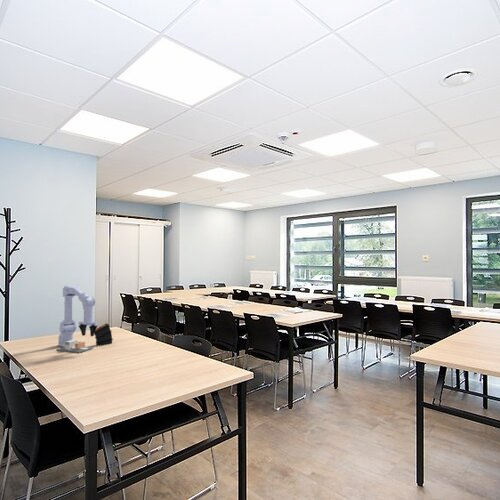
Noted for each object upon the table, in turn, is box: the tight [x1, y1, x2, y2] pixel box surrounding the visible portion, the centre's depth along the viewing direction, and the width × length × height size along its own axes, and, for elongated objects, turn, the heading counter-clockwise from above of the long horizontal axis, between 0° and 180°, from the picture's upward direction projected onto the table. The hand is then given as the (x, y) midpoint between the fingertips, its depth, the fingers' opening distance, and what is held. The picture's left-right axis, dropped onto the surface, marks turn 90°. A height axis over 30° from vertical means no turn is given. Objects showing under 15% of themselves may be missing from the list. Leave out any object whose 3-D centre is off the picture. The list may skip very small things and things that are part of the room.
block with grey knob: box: [75, 341, 86, 349], centre depth 244 cm, size 3×6×4 cm, turn 161°
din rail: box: [56, 345, 94, 354], centre depth 245 cm, size 20×12×3 cm, turn 71°
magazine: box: [94, 323, 114, 346], centre depth 263 cm, size 4×13×15 cm, turn 133°
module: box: [65, 339, 79, 350], centre depth 246 cm, size 4×7×5 cm, turn 161°
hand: (87, 335), depth 242 cm, fingers open, 7 cm apart
